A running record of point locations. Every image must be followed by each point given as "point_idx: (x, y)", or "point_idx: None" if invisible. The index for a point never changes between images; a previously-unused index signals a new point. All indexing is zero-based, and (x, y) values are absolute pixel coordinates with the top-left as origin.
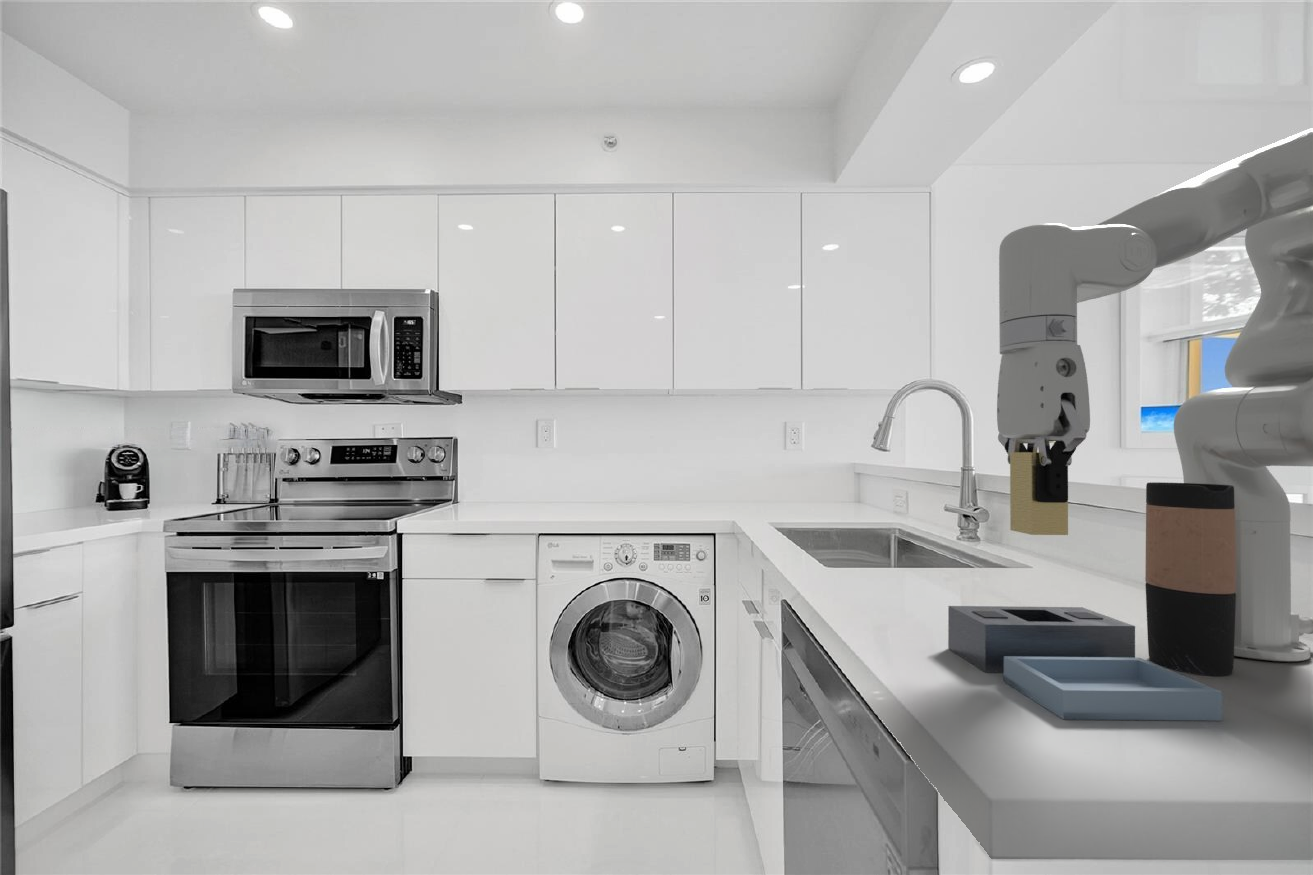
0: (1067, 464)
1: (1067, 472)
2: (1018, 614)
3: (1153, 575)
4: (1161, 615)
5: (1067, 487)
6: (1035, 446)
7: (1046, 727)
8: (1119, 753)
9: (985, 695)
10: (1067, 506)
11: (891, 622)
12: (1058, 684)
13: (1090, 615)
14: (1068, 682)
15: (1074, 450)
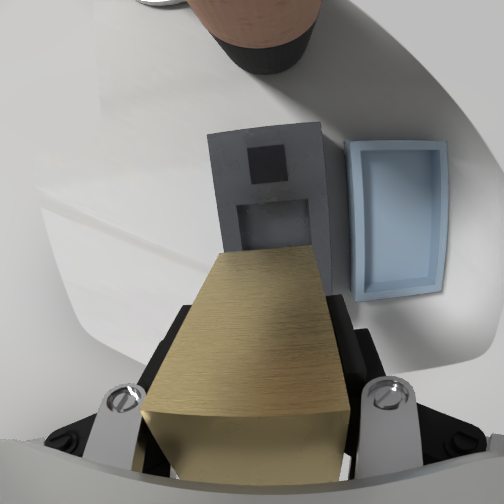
0: (399, 388)
1: (361, 353)
2: (242, 243)
3: (260, 42)
4: (277, 58)
5: (349, 317)
6: (140, 460)
7: (440, 299)
8: (475, 271)
9: (382, 318)
10: (319, 275)
11: (148, 324)
12: (430, 288)
13: (268, 154)
14: (370, 237)
15: (469, 425)
